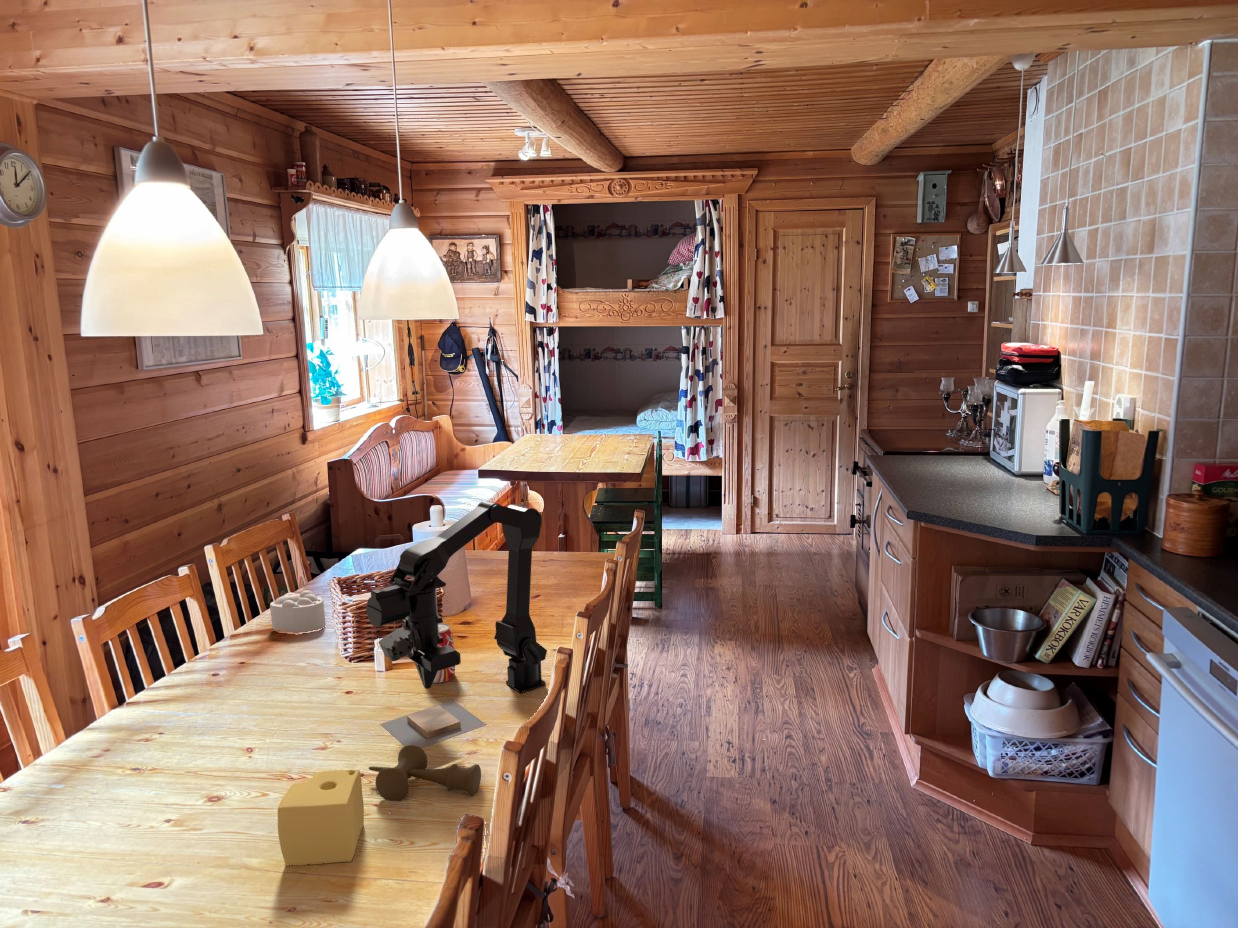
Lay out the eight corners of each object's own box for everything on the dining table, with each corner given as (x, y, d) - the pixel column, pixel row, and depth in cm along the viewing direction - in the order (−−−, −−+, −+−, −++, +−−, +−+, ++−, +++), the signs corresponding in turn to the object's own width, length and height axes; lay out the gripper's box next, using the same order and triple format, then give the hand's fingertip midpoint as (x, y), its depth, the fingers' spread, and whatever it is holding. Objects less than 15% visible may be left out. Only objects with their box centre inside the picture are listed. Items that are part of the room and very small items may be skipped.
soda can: (448, 686, 188) (445, 634, 186) (418, 684, 189) (414, 632, 187) (460, 673, 195) (457, 622, 192) (431, 670, 196) (427, 620, 194)
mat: (453, 701, 181) (453, 699, 181) (486, 726, 170) (486, 724, 170) (380, 725, 171) (380, 723, 171) (411, 753, 160) (410, 751, 160)
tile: (439, 705, 176) (460, 721, 169) (439, 710, 176) (460, 727, 169) (406, 715, 172) (427, 732, 165) (407, 721, 172) (427, 739, 165)
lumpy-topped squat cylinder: (292, 618, 231) (289, 587, 230) (335, 621, 228) (332, 590, 226) (267, 632, 221) (263, 600, 220) (311, 636, 218) (308, 603, 216)
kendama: (468, 812, 143) (356, 798, 146) (487, 781, 152) (381, 769, 156) (468, 778, 142) (354, 765, 145) (487, 750, 151) (380, 738, 155)
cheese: (300, 827, 139) (294, 770, 137) (368, 823, 140) (364, 766, 138) (280, 869, 128) (274, 808, 127) (355, 864, 129) (349, 803, 127)
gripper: (363, 609, 170) (369, 683, 173) (404, 637, 155) (409, 717, 158) (416, 596, 177) (420, 668, 180) (459, 622, 162) (464, 699, 165)
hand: (427, 687), depth 170 cm, fingers closed
